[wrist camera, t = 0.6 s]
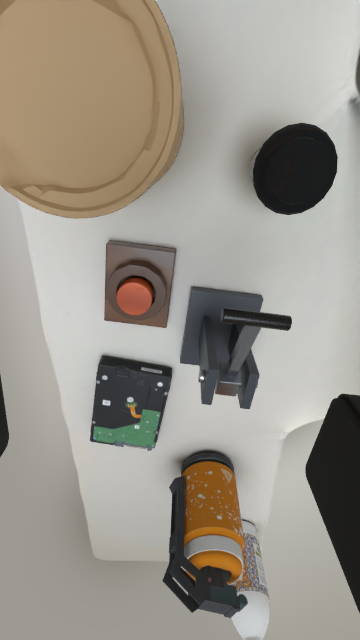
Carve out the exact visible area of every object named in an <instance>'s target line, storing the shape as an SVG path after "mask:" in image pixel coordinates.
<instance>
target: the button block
mask: <svg viewBox="0 0 360 640" xmlns="http://www.w3.org/2000/svg"><path fill="white" fill-rule="evenodd" d="M175 255H176V249H173V248H165V247H158V246H150V245H143V244H135V243H128V242H120V241H113V240H109V241H108V242H107V244H106V278H105V318H104V320H106V321H114V322H122V323H130V324H138V325H147V326H155V327H163V328H166V327H167V319H168V311H169V303H170V295H171V287H172V279H173V271H174V263H175ZM130 277H140V278H143V279H145V280H146V281H148V282H149V283H150V285H151V286H152V289H153V299H152V304H151V306H150V308H149V309H148V310H147V311H146V312H145V313H143V314H140V315H130V314H128V313H126V312H124V311H123V310H122V309H121V308H120V307H119V305H118V303H117V299H116V296H117V292H118V290H119V288H120V286H121V284H122V283H123V282H124V281H125V280H126V279H128V278H130Z"/></svg>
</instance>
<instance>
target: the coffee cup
mask: <svg viewBox="0 0 360 640" xmlns="http://www.w3.org/2000/svg"><path fill="white" fill-rule="evenodd" d="M337 158H338V157H337V153H336V149H335V145H334V143H333V142H332V140H331V139H330V137H329V136H328V134H327V133H326V132H325V131H323V130H321V129H320V128H318V127H317V126H315V125H310V124H305V123H299V124H293V125H288V126H286V127H284V128H282V129H280V130H278V131H277V132H275V133H274V134H273V135H272V136H271V137H270V138H269V139H268V140H267V141H266V142H265V143H264V144H263V146H262V147H261V148H260V149H259V150H258V151H257V152H256V153H255V155H254V157H253V159H252V160H251V164H250V176H251V179H252V181H253V185H254V188H255V191H256V193H257V196H258V198H259V199H260V200H261V202H262V203H263V204H264V205H265V207H267V208H269V209H270V210H272V211H274V212H276V213H280V214H286V215H291V214H298V213H302V212H304V211H306V210H308V209H310V208H312V207H314V206H315V205H316V204H317V203H318V202H319V201H321V200H322V199H323V198H324V197H325V195H326V194H327V192H328V191H329V189H330V188H331V186H332V184H333V181H334V178H335V175H336V173H337Z"/></svg>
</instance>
